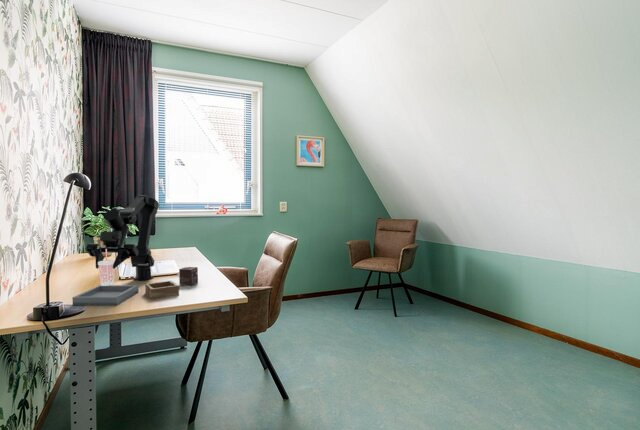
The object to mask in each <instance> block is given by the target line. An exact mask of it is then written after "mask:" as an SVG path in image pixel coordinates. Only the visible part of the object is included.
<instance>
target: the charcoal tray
mask: <svg viewBox="0 0 640 430" xmlns="http://www.w3.org/2000/svg"><path fill="white" fill-rule="evenodd" d="M138 293H139V285H138V284H134V285H133V284H132V285H130V284H124V285H120V284H115V285H114V284H113V285H108V286H101V284H100V285H99V284H98V285H97V286H94V287H92V288H90V289H88V290H85V291H83V292H81V293H79V294H77V295H75V296H73V297H72V306H118V305H120V304H122V303H123V302H125V301H127V300H128V299H130V298H132V297H134V296H135V295H137V294H138Z"/></svg>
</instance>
